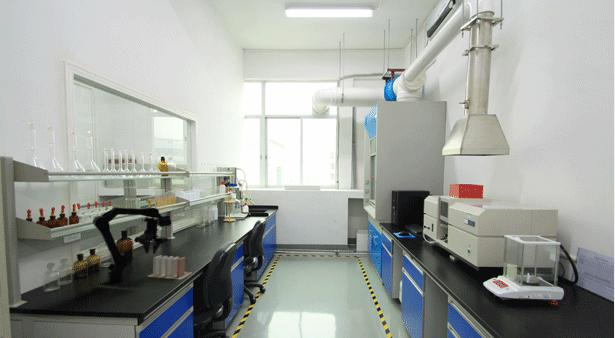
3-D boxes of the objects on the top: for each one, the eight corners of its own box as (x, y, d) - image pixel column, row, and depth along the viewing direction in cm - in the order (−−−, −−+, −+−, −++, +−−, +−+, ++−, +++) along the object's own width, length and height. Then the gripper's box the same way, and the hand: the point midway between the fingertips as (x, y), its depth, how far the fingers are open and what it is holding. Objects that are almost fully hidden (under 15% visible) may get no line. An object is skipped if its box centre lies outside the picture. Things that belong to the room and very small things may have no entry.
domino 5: (176, 276, 147) (177, 259, 148) (182, 273, 152) (183, 257, 153) (179, 276, 147) (180, 259, 148) (184, 273, 152) (185, 257, 153)
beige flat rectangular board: (146, 278, 147) (147, 276, 147) (160, 271, 158) (160, 269, 158) (180, 281, 144) (180, 279, 144) (192, 274, 155) (192, 272, 155)
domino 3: (164, 275, 149) (165, 258, 149) (170, 272, 154) (171, 256, 154) (167, 275, 148) (167, 258, 149) (172, 272, 153) (173, 256, 154)
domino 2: (158, 275, 149) (159, 258, 150) (164, 272, 154) (165, 255, 155) (161, 275, 149) (161, 258, 149) (167, 272, 154) (167, 255, 154)
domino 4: (170, 276, 148) (171, 259, 148) (176, 273, 153) (177, 256, 153) (173, 276, 148) (173, 259, 148) (178, 273, 153) (179, 256, 153)
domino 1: (152, 274, 150) (153, 257, 150) (158, 271, 155) (159, 255, 155) (155, 274, 150) (155, 257, 150) (161, 271, 155) (161, 255, 155)
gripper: (127, 229, 148) (125, 256, 147) (155, 231, 145) (154, 258, 144) (142, 226, 159) (141, 251, 158) (168, 227, 156) (167, 253, 155)
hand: (150, 253), depth 153 cm, fingers open, 5 cm apart
